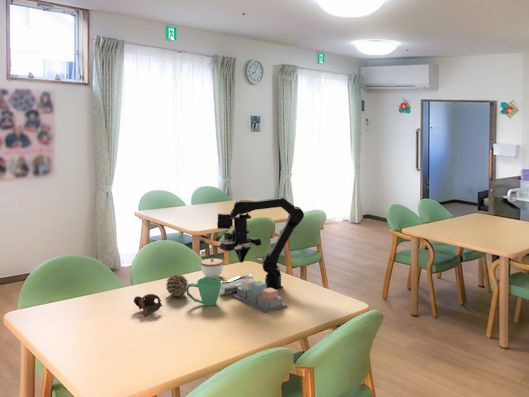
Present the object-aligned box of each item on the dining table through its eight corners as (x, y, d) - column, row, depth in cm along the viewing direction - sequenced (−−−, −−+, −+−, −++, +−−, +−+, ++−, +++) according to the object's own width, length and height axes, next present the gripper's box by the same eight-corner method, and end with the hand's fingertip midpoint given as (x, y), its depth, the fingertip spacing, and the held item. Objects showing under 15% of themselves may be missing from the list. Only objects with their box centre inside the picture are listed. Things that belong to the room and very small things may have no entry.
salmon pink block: (270, 299, 211) (270, 287, 210) (277, 302, 207) (277, 290, 207) (261, 301, 208) (261, 289, 208) (268, 304, 205) (268, 292, 204)
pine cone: (192, 299, 217) (192, 277, 216) (170, 303, 213) (169, 280, 212) (180, 284, 237) (179, 264, 236) (159, 287, 234) (158, 266, 232)
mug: (219, 299, 218) (219, 276, 216) (223, 307, 208) (223, 283, 207) (185, 302, 214) (184, 279, 213) (187, 310, 205) (186, 286, 203)
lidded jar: (198, 279, 245) (198, 260, 243) (204, 273, 255) (204, 254, 254) (220, 280, 243) (220, 261, 242) (225, 274, 253) (225, 255, 252)
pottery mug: (165, 308, 209) (166, 295, 204) (155, 326, 201) (156, 312, 196) (138, 299, 210) (137, 286, 205) (127, 317, 203) (127, 303, 198)
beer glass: (219, 296, 225) (248, 289, 233) (225, 295, 219) (255, 288, 227) (215, 281, 226) (245, 274, 234) (222, 279, 220) (252, 272, 228)
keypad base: (253, 291, 227) (253, 282, 226) (287, 306, 208) (287, 297, 207) (232, 296, 220) (232, 287, 220) (265, 313, 201) (265, 303, 201)
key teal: (260, 292, 217) (260, 280, 216) (266, 295, 213) (266, 283, 212) (251, 294, 214) (251, 282, 213) (257, 297, 210) (257, 285, 210)
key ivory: (250, 289, 223) (249, 278, 222) (256, 292, 219) (255, 281, 218) (241, 291, 220) (241, 280, 219) (247, 294, 217) (247, 283, 216)
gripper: (247, 223, 239) (248, 255, 242) (213, 228, 228) (214, 262, 231) (261, 226, 230) (262, 260, 233) (226, 232, 220) (227, 267, 222)
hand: (241, 262), depth 230 cm, fingers closed
